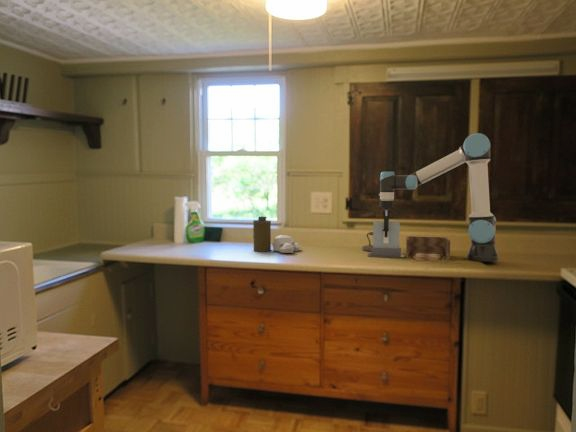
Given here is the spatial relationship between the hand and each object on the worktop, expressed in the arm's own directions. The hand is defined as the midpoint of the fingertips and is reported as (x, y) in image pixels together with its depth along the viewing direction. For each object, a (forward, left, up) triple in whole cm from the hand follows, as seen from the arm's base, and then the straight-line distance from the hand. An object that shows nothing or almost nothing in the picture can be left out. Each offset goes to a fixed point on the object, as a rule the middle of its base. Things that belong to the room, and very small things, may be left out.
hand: (386, 242), depth 254 cm
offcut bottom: (-22, +5, -9) cm, 24 cm away
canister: (+72, -5, -8) cm, 73 cm away
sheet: (0, 0, -7) cm, 7 cm away
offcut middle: (-21, +5, -7) cm, 23 cm away
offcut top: (-22, +5, -6) cm, 23 cm away
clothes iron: (+11, -16, -9) cm, 22 cm away
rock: (+58, -6, -8) cm, 59 cm away
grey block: (0, 0, -8) cm, 8 cm away
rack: (-22, 0, -8) cm, 23 cm away
